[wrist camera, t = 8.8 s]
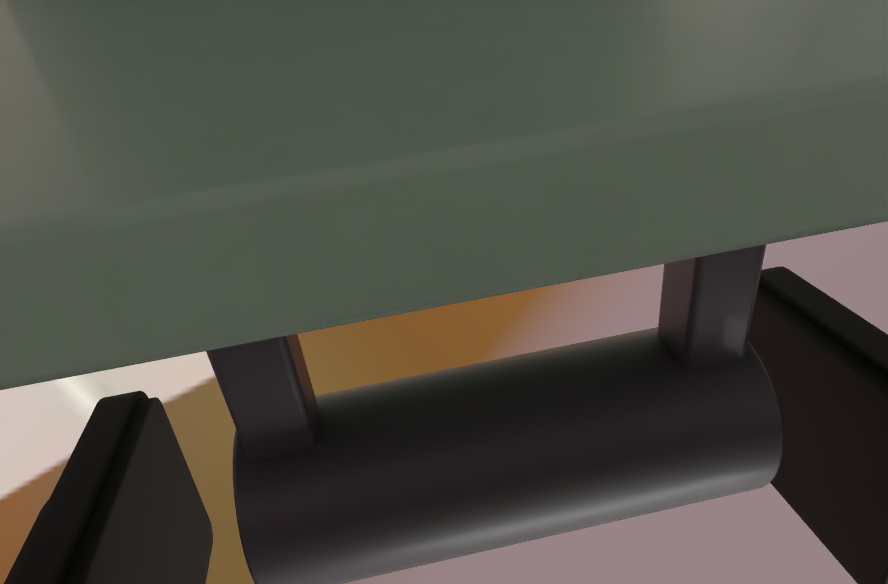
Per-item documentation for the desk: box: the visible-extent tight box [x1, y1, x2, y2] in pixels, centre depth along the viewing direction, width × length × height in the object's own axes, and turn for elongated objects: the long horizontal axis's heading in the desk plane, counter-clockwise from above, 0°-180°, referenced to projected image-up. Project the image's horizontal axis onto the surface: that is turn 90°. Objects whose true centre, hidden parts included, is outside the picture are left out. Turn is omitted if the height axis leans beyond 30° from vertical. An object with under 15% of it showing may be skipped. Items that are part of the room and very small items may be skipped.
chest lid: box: [0, 0, 888, 584], centre depth 11 cm, size 15×17×6 cm
